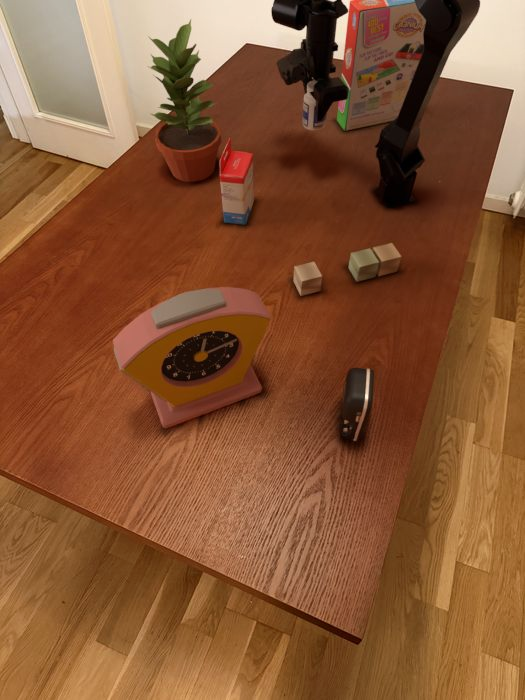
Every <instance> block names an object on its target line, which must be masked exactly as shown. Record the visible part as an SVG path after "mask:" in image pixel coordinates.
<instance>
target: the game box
mask: <svg viewBox="0 0 525 700" xmlns="http://www.w3.org/2000/svg"><path fill="white" fill-rule="evenodd" d="M347 14H348V15H347V23H346V31H345V32H346V33H345V41H344V42H345V43H344V49H343V50H344V51H343V61H342V70H341V78H340V79H341V80H342V81H343V82H344V83H345V85H346V86H347V87H348V88H349V92H348V98H347V99H346V100H342V101H338V105H337V115H336V122H337V123H338V124H339V126H340V127H341V128H342V130H343V131H344V132H347V131H352V130H357V129H361V128H366V127H370V126H376V125H380V124H381V125H382V124H385V123H386V124H387V123H391V122H392V121H393V120H394V119H396V118H397V117H398V115H399V112H400V110H401V107H402V104H403V102H404V99H405V97H406V94H407V91H408V89H409V86H410V84H411V81H412V78H413V76H414V73H415V71H416V68H417V66H418V63H419V60H420V58H421V55H422V53H423V49H424V40H423V32H424V27H425V22H426V19H425V18H424V17H423V16H422V15H421V13H420V12H419V11H418V9H417V6H416V3H415V1H414V0H349V5H348V13H347Z"/></svg>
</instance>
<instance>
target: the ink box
mask: <svg viewBox="0 0 525 700" xmlns="http://www.w3.org/2000/svg"><path fill="white" fill-rule="evenodd" d="M253 157H254V153H252V152H247V151H239V150H232V138H230V137H229V138H228V141H227V143H226V145H225V148H224V150H223V151H222V154H221V156H220V159H219V181H220V182H219V183H220V191H221V192H220V193H221V202H222V213H223V222H224V223H226V224H234V225H244V226H246V225H247V223H248V219H249V216H250V215H251V211H252V208H253V205H254V202H255V195H254V158H253Z"/></svg>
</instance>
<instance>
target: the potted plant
mask: <svg viewBox="0 0 525 700" xmlns="http://www.w3.org/2000/svg"><path fill="white" fill-rule="evenodd" d="M191 32H192V19H189V22H188V23H187V24H183V25H181V26H180V27H179V29H178V31H177V32H176V36H175V37H174V38H171V39H170V40H169V41H168V44H166V43H165V42H164V41H162V40H160V39H158V38H151V37H150V36H149V35H147V36H148V38H149V40H151V42H153V44H154V45H155V46H156V47H157V48H158V49H159V50H160V52H161V53H163V55H164V56H165V57H166V58H165V57H163V56H154V55H153V54H151V53H150V56H151V57H152V62H153V64H154V65H151V66H148V68H149V69H151V70H153V71H155V72H157V73H159V74H161V75H162V76H163V78H162V79H161V78H160V77H158V76H155V75H154V74H152V76H154V77H155V78H156V79H157V80H158V81H159V82H160V83H161V84H162V85H163V87H164V90H165V91H166V93H167V95H168V97H166V99H167V100H168V101H170V102H172V103H173V104H169V103H161V104H159V107H157V108H159V109H161V110H166V111H171V112H174V113H175V114H176V115H175V116H174V115H172V114H169V113H166V112H162V111H161V112H160V111H159V112H156V113H155V114H153V113H150V115H151V116H153V117H154V118H155V119H157V120H159V121H161V122H163V123H162V124H160V125H159V126H158V127H157V129H156V130H155V132H154V140H155V145H156V148H157V150H158V151H159V153H161V154H162V156H163V158H164V160H165V162H166V164H167V166H168V168H169V171H170V172H171V174H172V176H173V177H174V178H175V179H177V180H178V181H182V182H187V183H188V182H189V183H191V182H199V181H204V180H206V179H207V178H209V177H210V176H211V175H212V174H213V173H214V171H215V168H216V162H217V156H218V151H219V148H220V146H221V145H222V133H221V127H220V126H219V124H218V123H217V122H216V121H214V120H213V118H212V117H211V116H201V113H202V112H203V111H205V110H207V109H209V108H212V107H214V106H215V105H218V102H215V103H214V102H213V100H206V101H203V102H202V100H200V95H201V94H203V93H205V92H206V91H208V90H210V89H211V88H212V87H213V86H214V85H215V83H213V84H211V83H210V82H209V81H207V80H206V79H202V80H199V81H198V82H196V83H195V84H194V77H191V76H192V74H193V72H194V69H195V67H196V65H197V64H199V62H200V61H201V60H202V58H201V57H199V52H200V50H197V52H196V53H195V54H194V53H193V52H194V50H195V48H196V47H197V43H194V44H193V46H191V47H188V43H189V39H190V36H191ZM187 47H188V48H187ZM189 88H190V89H189Z"/></svg>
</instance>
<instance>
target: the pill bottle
mask: <svg viewBox="0 0 525 700" xmlns="http://www.w3.org/2000/svg"><path fill="white" fill-rule="evenodd" d="M316 83H317V82H314V81H310V82H309V83H308V84H307V93H306V94H305V93H304V95H303V99H302V100H303V103H302V119H301V120H302V122H301V123H302V127H304V129H305V130H308V131H313V132H314V131H315V132H316V131H320V130H323V129H324V128H325V127H326V125H327V116H328V112H327V113H326V115H325V116H324V118H323V120H321V121H317V116H316V100H315V99H314V98H313V97H312V95H311V94H310V92H313V88H314V85H315V84H316Z"/></svg>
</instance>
